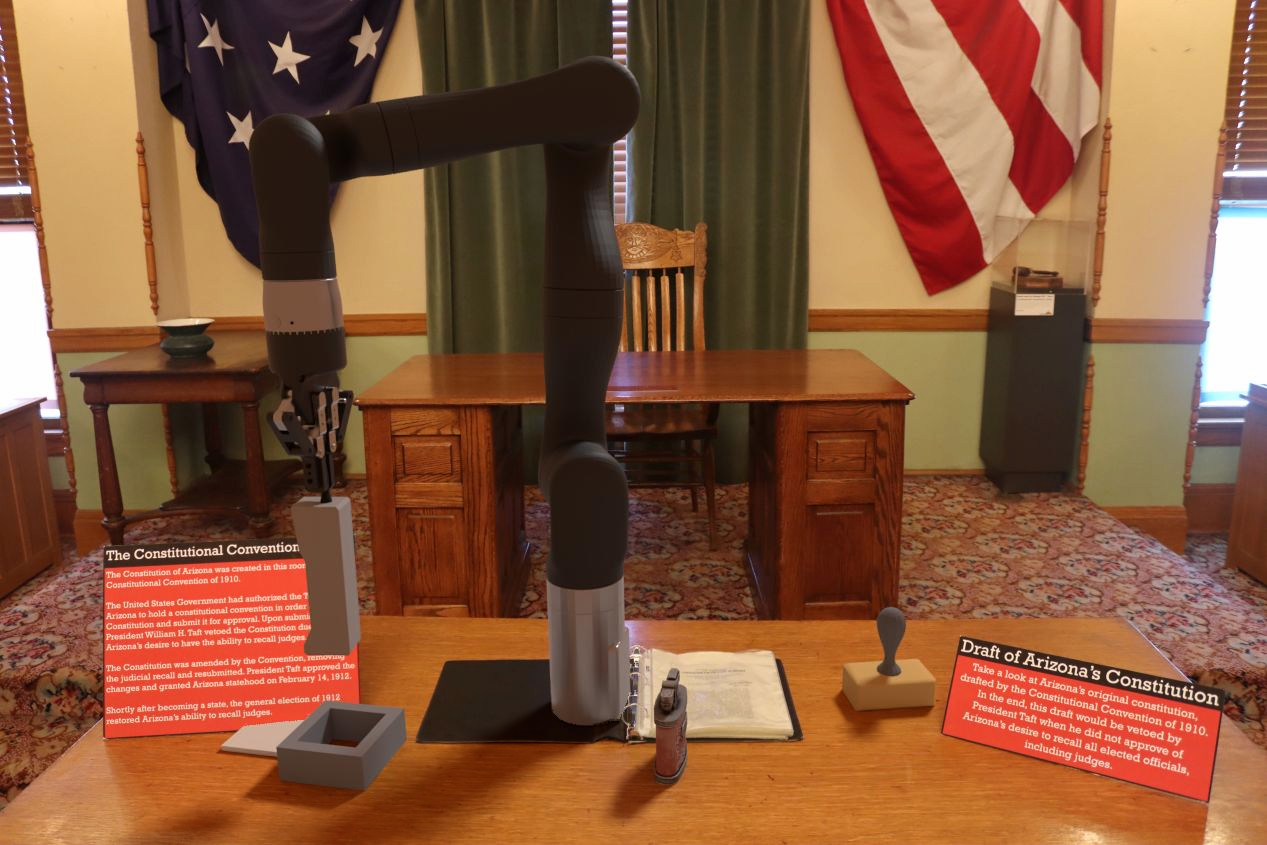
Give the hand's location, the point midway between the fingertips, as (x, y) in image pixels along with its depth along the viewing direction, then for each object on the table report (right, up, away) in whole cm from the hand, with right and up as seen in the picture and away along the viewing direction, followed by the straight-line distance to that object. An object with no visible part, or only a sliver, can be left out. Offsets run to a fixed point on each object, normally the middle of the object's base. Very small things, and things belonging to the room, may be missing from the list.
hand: (320, 489), depth 97 cm
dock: (0, -31, +7) cm, 32 cm away
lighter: (+37, -31, +5) cm, 48 cm away
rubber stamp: (+64, -27, +18) cm, 72 cm away
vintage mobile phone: (0, -18, +4) cm, 18 cm away
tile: (-10, -30, +12) cm, 34 cm away
